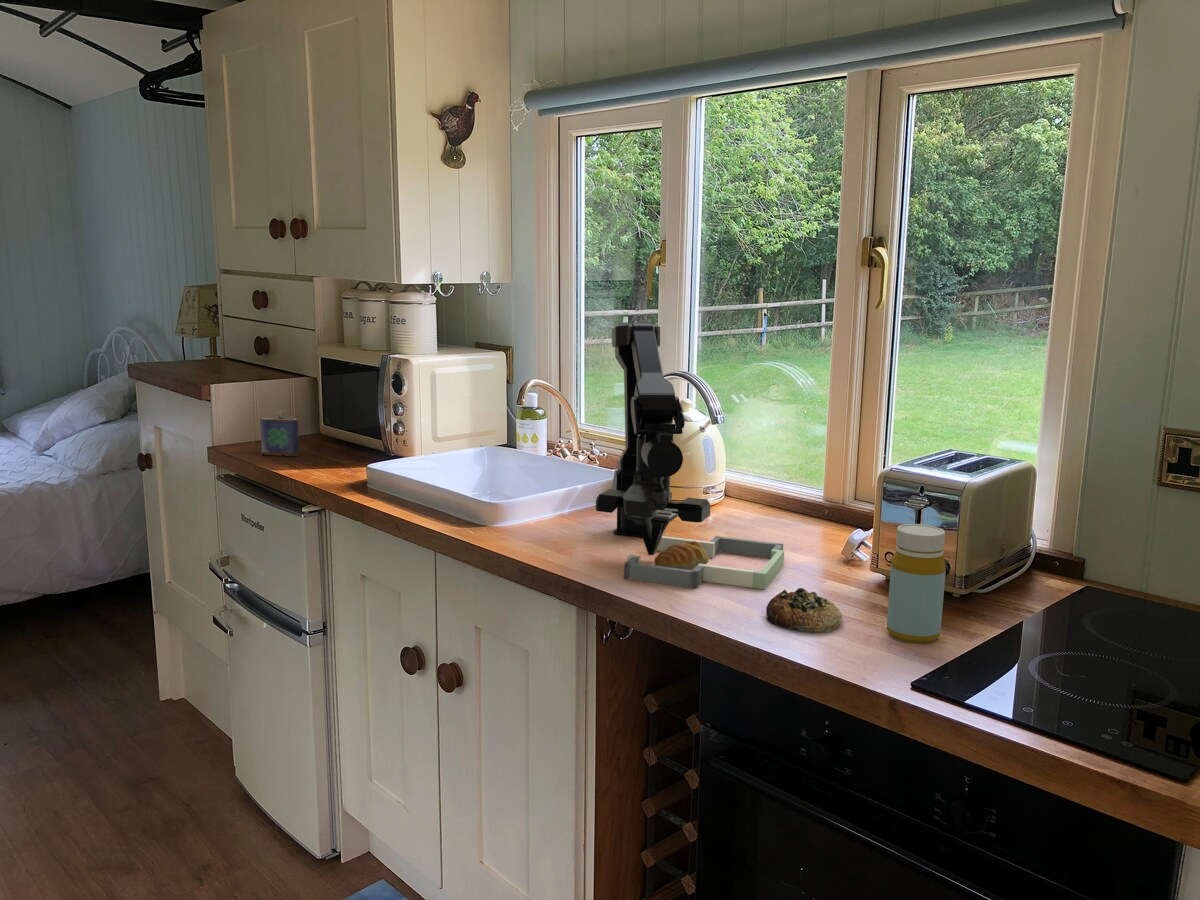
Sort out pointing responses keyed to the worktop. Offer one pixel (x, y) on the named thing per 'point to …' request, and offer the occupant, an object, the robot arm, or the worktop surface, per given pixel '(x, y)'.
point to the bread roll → (803, 612)
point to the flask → (280, 434)
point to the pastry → (682, 556)
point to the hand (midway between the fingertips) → (651, 554)
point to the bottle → (917, 584)
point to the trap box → (711, 572)
